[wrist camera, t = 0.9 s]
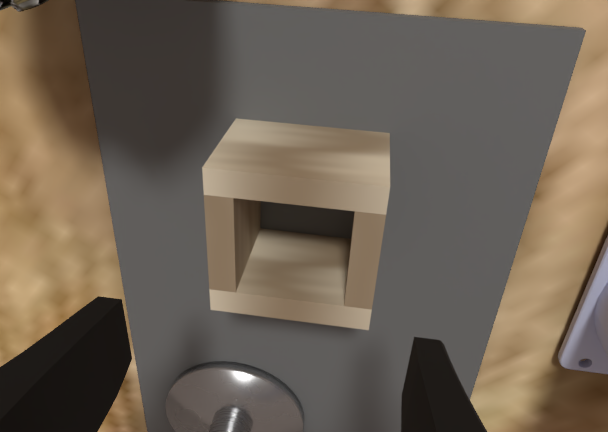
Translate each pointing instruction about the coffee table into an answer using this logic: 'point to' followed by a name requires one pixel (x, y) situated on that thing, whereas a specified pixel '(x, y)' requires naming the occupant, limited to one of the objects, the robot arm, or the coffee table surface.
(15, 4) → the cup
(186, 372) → the post
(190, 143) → the mat
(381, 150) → the collar
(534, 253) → the coffee table surface
